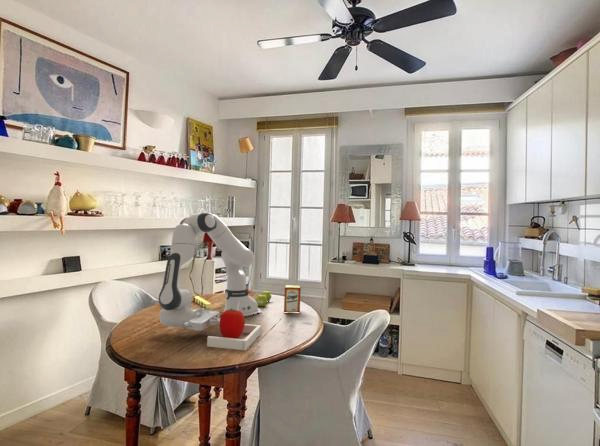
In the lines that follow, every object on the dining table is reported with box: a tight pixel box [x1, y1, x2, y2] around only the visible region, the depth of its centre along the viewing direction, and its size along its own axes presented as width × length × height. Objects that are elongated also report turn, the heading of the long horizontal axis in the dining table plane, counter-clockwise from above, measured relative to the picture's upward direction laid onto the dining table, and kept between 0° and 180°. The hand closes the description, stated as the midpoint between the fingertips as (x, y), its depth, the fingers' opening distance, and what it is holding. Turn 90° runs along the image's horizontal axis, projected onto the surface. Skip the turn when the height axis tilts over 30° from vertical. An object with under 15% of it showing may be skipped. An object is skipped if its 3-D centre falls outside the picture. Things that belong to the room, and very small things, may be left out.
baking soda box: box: [283, 284, 301, 313], centre depth 202 cm, size 10×6×16 cm
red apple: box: [219, 309, 246, 339], centre depth 152 cm, size 13×11×14 cm
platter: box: [193, 295, 212, 310], centre depth 211 cm, size 32×32×3 cm
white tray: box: [206, 323, 262, 351], centre depth 152 cm, size 18×22×4 cm
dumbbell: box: [254, 290, 272, 307], centre depth 220 cm, size 16×8×7 cm, turn 172°
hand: (220, 321), depth 153 cm, fingers closed, pressing on red apple
